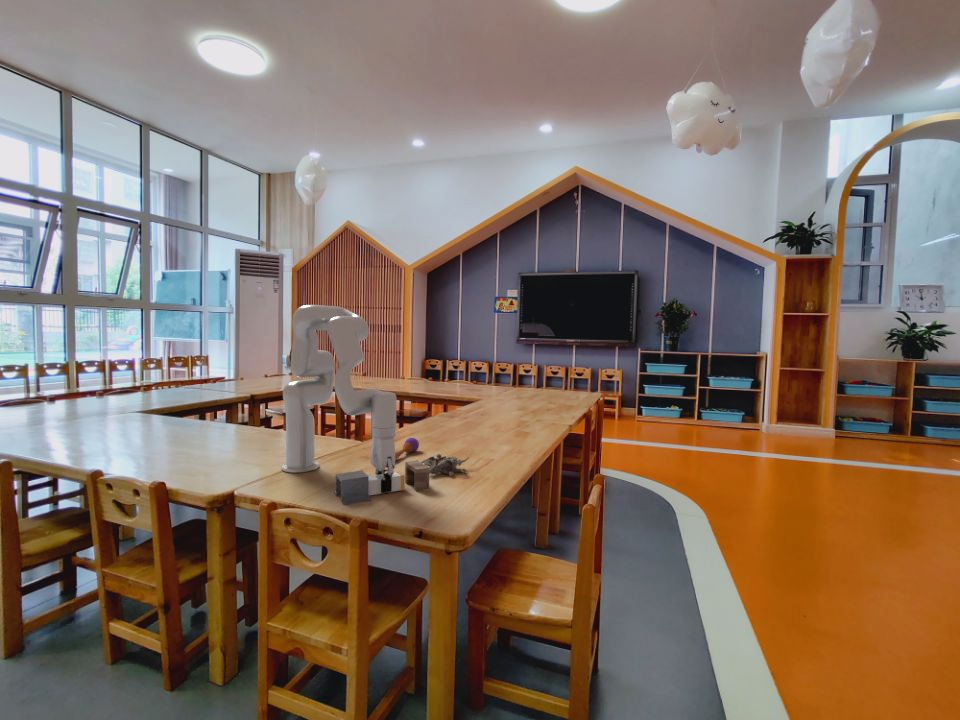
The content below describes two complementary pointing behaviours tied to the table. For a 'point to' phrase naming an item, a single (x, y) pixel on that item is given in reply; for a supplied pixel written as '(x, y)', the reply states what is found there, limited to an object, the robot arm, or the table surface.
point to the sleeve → (352, 487)
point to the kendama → (408, 447)
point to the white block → (375, 483)
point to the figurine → (443, 464)
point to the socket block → (417, 475)
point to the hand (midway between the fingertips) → (383, 488)
